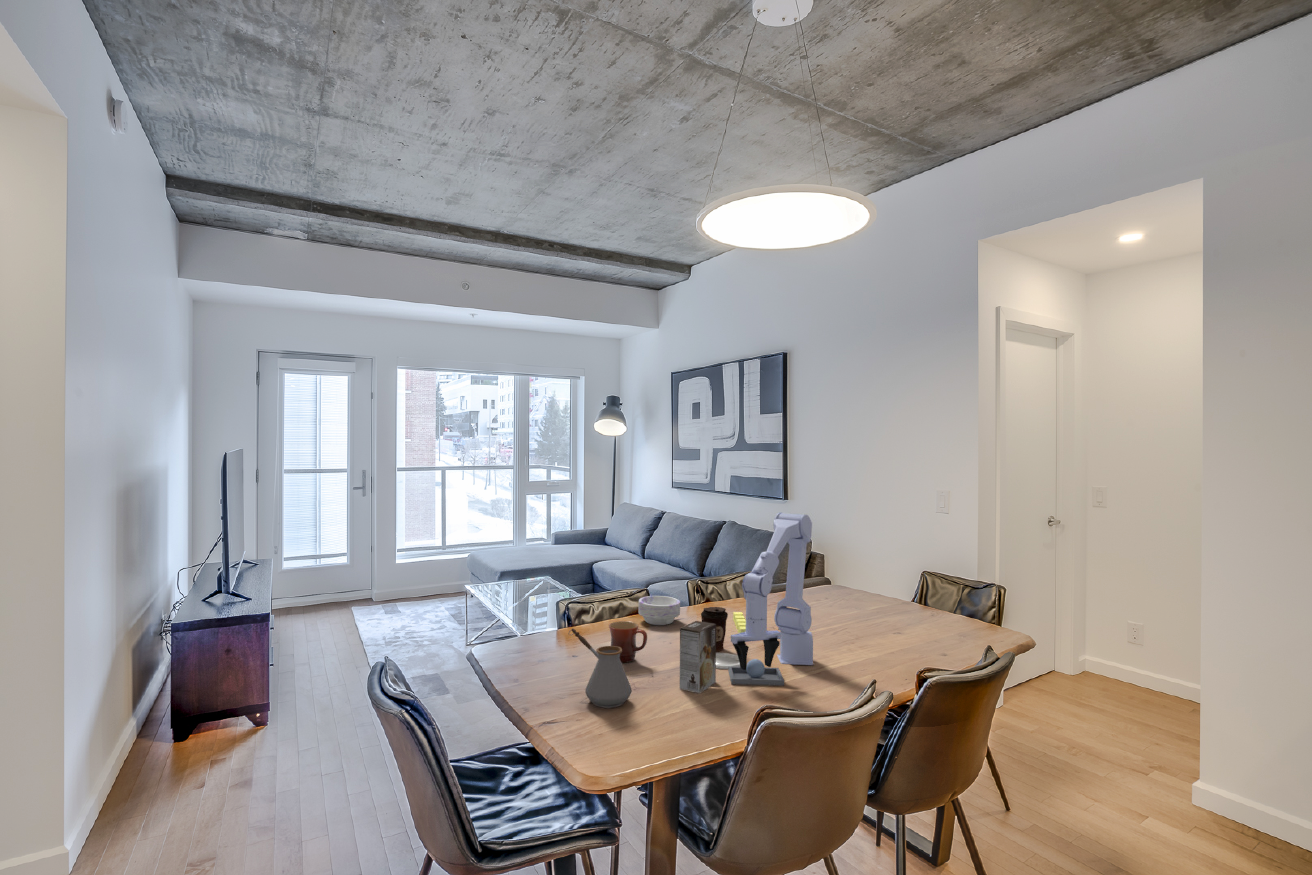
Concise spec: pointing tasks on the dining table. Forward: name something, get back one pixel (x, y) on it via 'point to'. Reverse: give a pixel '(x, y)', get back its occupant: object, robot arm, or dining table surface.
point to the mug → (626, 639)
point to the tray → (768, 678)
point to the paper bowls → (659, 609)
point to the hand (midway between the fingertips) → (755, 667)
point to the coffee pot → (607, 677)
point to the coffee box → (697, 656)
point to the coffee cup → (718, 618)
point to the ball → (755, 668)
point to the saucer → (726, 660)
